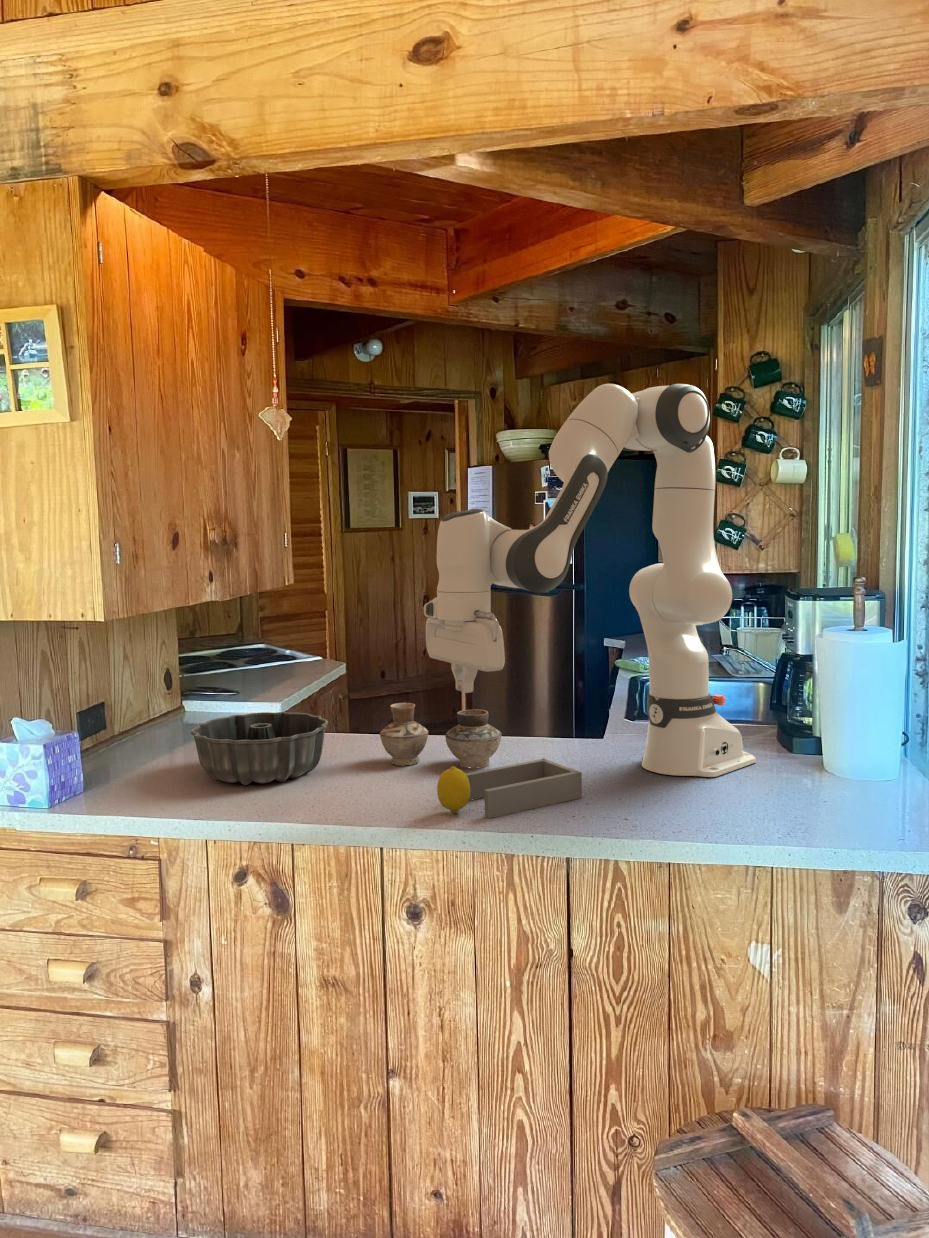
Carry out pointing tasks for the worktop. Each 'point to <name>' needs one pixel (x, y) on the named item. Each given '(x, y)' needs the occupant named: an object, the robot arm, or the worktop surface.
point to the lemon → (453, 789)
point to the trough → (524, 786)
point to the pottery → (465, 740)
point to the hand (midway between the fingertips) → (464, 691)
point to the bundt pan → (260, 746)
